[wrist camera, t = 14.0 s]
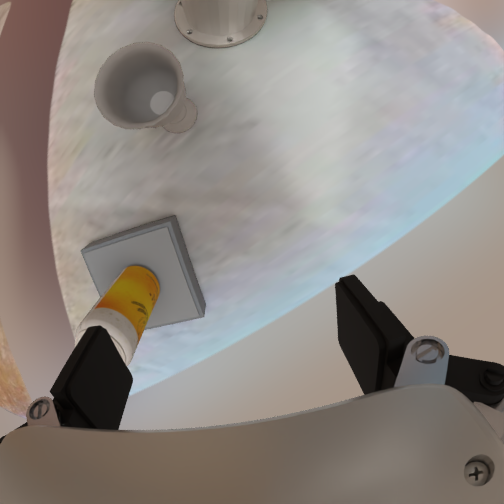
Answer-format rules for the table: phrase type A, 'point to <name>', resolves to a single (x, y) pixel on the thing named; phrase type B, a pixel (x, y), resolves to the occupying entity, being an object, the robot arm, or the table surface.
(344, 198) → the table surface
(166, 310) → the plinth
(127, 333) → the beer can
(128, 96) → the chalice
